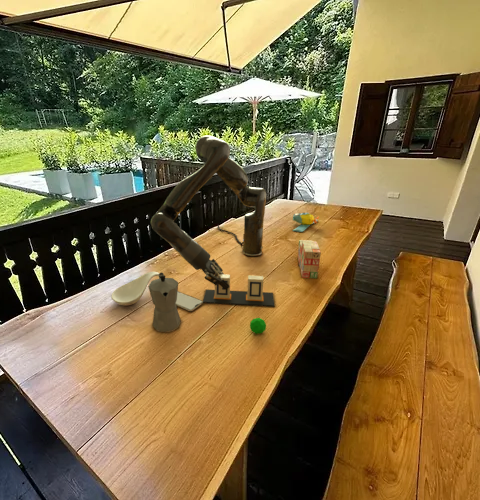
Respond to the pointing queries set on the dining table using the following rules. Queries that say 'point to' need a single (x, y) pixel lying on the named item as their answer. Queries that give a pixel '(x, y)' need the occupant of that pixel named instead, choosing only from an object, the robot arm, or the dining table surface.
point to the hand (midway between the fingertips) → (227, 285)
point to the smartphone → (187, 301)
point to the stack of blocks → (309, 258)
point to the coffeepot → (164, 303)
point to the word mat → (239, 299)
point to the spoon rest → (132, 290)
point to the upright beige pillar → (255, 287)
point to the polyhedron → (257, 325)
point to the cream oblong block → (219, 290)
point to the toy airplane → (304, 221)
